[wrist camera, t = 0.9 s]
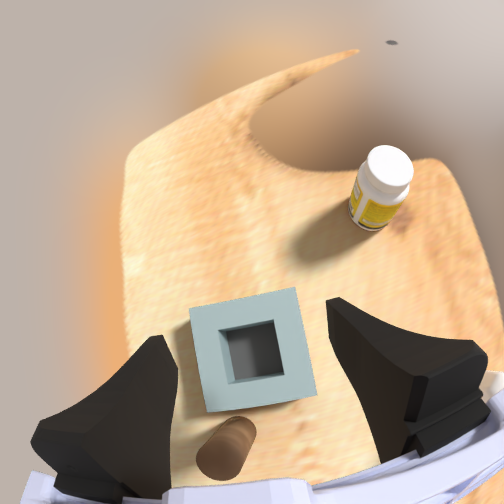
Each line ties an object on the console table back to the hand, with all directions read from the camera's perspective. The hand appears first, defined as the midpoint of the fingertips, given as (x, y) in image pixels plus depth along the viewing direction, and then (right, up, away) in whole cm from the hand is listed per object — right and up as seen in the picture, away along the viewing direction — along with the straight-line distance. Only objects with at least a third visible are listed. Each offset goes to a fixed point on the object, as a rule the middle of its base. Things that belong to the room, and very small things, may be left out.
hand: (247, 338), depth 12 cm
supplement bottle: (+12, +8, +16) cm, 22 cm away
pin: (-1, -13, +11) cm, 17 cm away
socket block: (+1, -5, +14) cm, 15 cm away
